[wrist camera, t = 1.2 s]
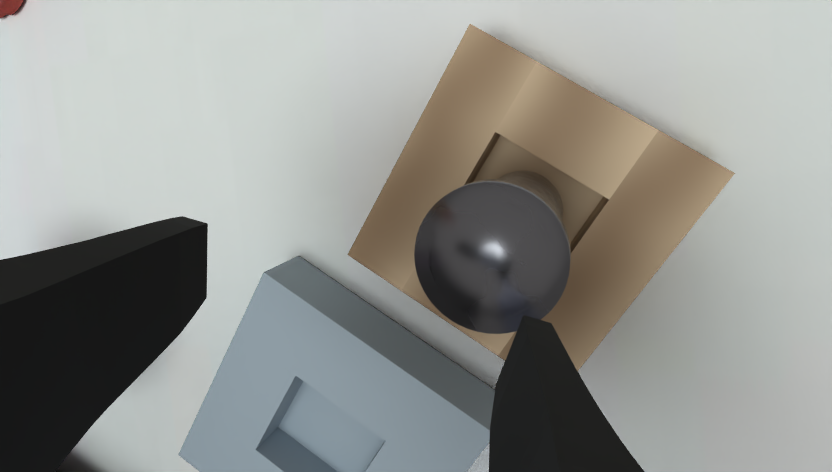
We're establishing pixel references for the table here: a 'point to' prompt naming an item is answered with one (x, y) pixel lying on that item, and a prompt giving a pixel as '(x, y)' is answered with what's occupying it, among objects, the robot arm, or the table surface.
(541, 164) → the mount
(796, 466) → the table surface
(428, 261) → the pin
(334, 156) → the table surface
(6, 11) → the stacking bear
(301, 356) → the dock
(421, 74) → the table surface
